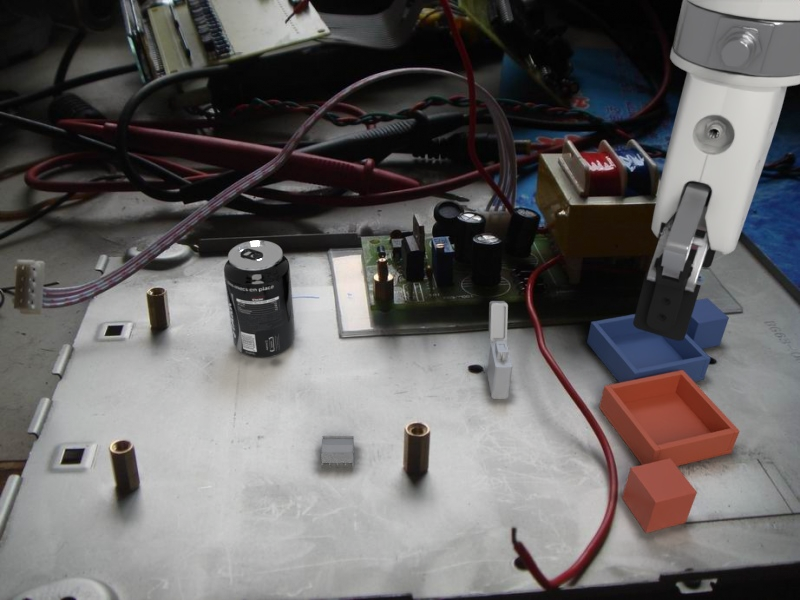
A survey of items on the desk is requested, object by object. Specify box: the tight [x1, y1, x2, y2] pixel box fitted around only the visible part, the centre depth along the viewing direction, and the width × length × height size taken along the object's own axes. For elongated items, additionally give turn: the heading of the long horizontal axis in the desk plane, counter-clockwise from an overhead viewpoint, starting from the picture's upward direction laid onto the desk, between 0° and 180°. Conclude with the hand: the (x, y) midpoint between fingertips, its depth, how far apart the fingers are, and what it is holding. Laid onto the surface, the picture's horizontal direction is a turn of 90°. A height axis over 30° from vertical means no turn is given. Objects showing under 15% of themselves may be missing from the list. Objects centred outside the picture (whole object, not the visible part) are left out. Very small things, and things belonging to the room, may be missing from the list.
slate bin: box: [586, 313, 711, 383], centre depth 83 cm, size 9×9×3 cm
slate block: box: [686, 297, 730, 350], centre depth 86 cm, size 4×4×4 cm
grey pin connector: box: [320, 435, 355, 469], centre depth 70 cm, size 3×2×2 cm
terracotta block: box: [621, 458, 698, 534], centre depth 65 cm, size 4×4×4 cm
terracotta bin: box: [598, 370, 740, 467], centre depth 74 cm, size 9×9×3 cm
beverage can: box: [223, 240, 296, 359], centre depth 81 cm, size 7×7×12 cm
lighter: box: [486, 300, 513, 400], centre depth 79 cm, size 7×2×8 cm, turn 2°
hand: (674, 294), depth 51 cm, fingers open, 9 cm apart
